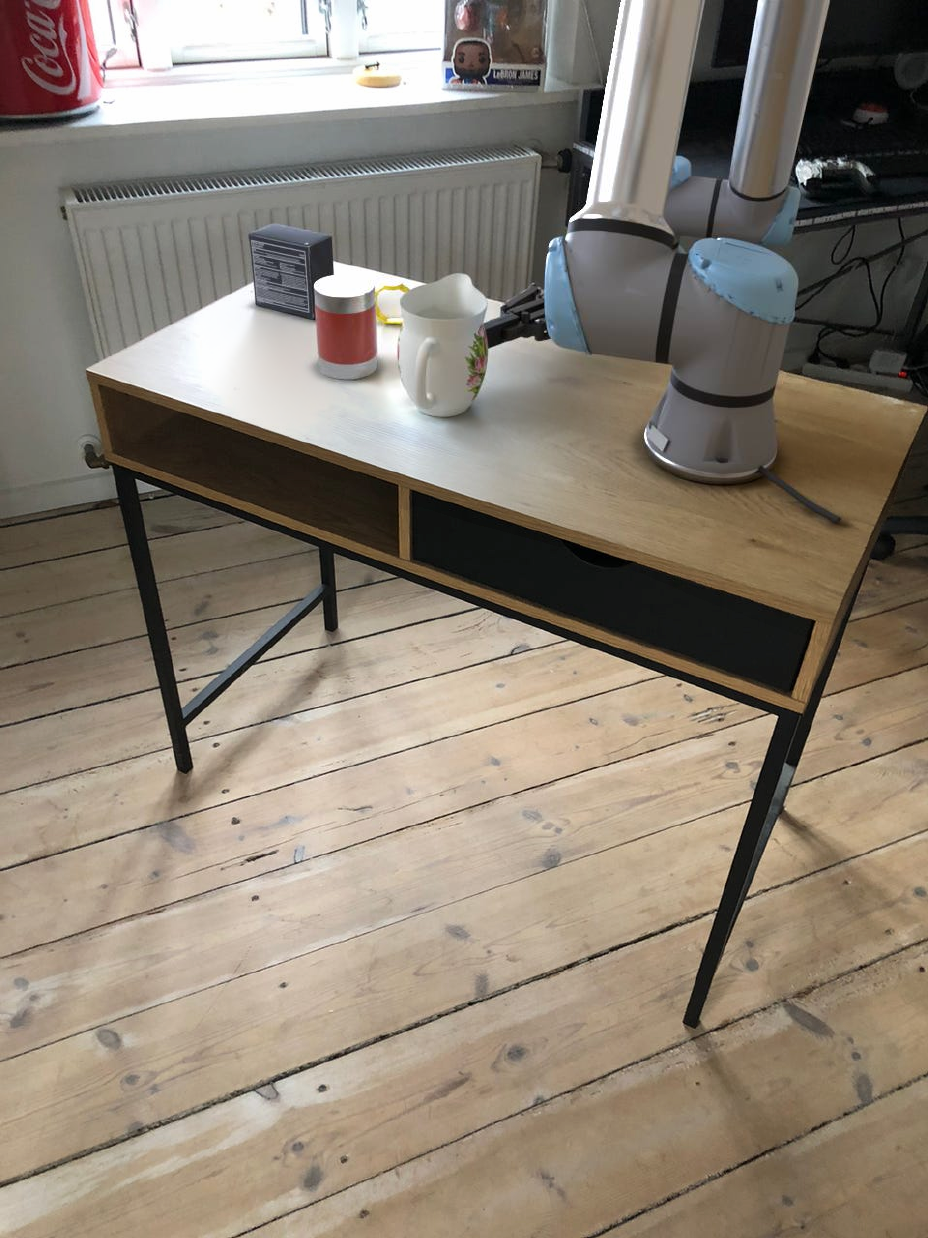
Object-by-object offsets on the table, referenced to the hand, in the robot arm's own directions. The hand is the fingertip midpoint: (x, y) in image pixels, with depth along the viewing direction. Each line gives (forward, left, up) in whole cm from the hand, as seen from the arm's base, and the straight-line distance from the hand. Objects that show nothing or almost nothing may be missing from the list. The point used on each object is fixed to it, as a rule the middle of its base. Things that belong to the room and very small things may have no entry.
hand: (478, 338), depth 127 cm
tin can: (+16, +8, -7) cm, 19 cm away
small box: (+37, +1, -7) cm, 38 cm away
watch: (+23, -6, -7) cm, 25 cm away
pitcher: (0, +7, -7) cm, 10 cm away
